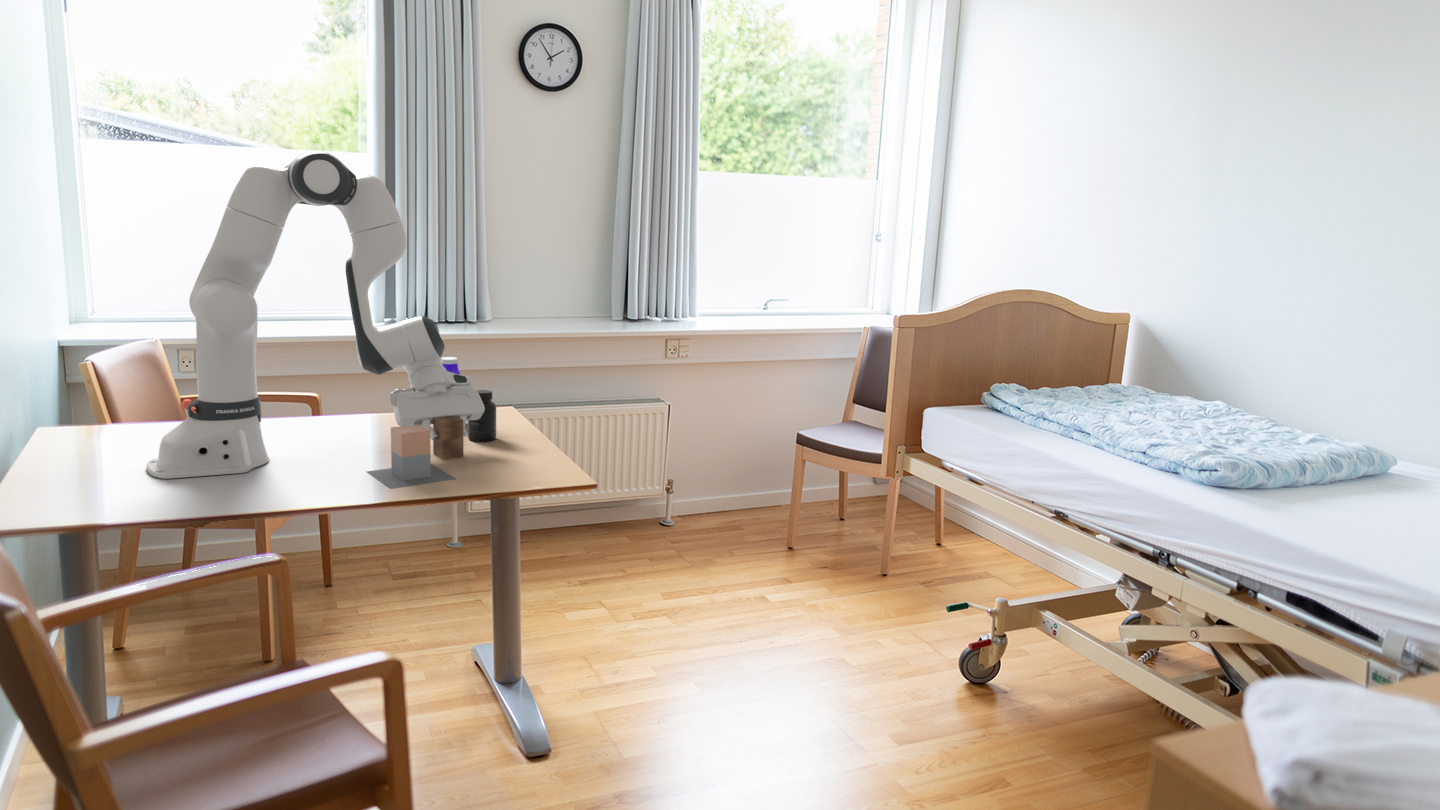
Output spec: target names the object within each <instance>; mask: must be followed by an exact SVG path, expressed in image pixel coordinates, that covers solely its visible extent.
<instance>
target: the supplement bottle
mask: <svg viewBox="0 0 1440 810" xmlns="http://www.w3.org/2000/svg"><path fill="white" fill-rule="evenodd" d="M476 390H477V392H478V393H479V395H480V397H481V399H482V402H483V404H484V407H485V410H484V413H483V415H482V416H481V418H480V419H478V420H468V421H467V437H468V439H469V440H470V441H473V442H479V443H482V442H483V443H485V442H491V441H494V440H496V438H497V404H496V403H495V402H493V401H492V400H493V391H492V390H488V389H487V390H486V389H476Z"/></svg>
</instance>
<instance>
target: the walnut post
mask: <svg viewBox="0 0 1440 810" xmlns="http://www.w3.org/2000/svg"><path fill="white" fill-rule="evenodd" d="M432 428H433V429H434V430H438V433H439V435H440V437H439V439H437V440H432V446H433V447H432V449H433V451H432V452H433V454H432V455H434V456H436V457H438V458H439V459H440V460H448V459H458V458H464V436H463V420H462V419H460V418H458V417H456V416H451V417H441V418H433V424H432Z"/></svg>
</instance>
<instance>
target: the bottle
mask: <svg viewBox="0 0 1440 810" xmlns="http://www.w3.org/2000/svg"><path fill="white" fill-rule="evenodd" d="M441 362H442V365H443V366H444V367H445V369H446V371H448V372H451V373H455V374H460V375H462V374H461V372H460V370H459V365H458V357H456V356H455V357H454V356H445V357H441Z"/></svg>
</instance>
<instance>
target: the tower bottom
mask: <svg viewBox="0 0 1440 810" xmlns="http://www.w3.org/2000/svg"><path fill="white" fill-rule="evenodd" d="M390 455H391V459H390V460H391V461H390V462H391V463H390V464H391V468H392V474H393V475H395V476H396V477H398V478H399V479H401V480H402V481H405V480H412V479H418V478H425V477H431V464H432V463H431V453H430V454H424V455H416V456H409V457H401V456H399V455H397V454H396V453H394V452H393V451H391V450H390Z"/></svg>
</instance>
